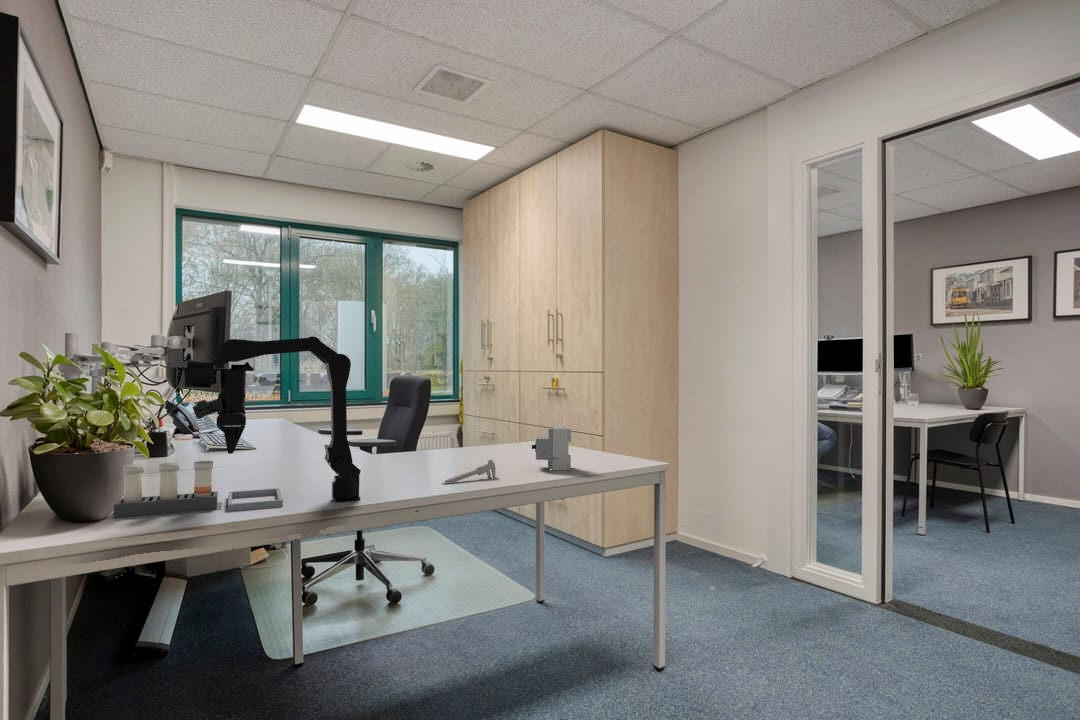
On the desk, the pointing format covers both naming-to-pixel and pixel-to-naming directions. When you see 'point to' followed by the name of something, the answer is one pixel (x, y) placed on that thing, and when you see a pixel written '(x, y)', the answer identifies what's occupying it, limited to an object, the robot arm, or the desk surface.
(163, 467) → the block
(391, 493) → the desk surface
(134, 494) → the fuse
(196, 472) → the marked fuse
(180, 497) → the grey slotted rack
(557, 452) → the circuit breaker
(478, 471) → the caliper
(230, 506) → the parts tray
